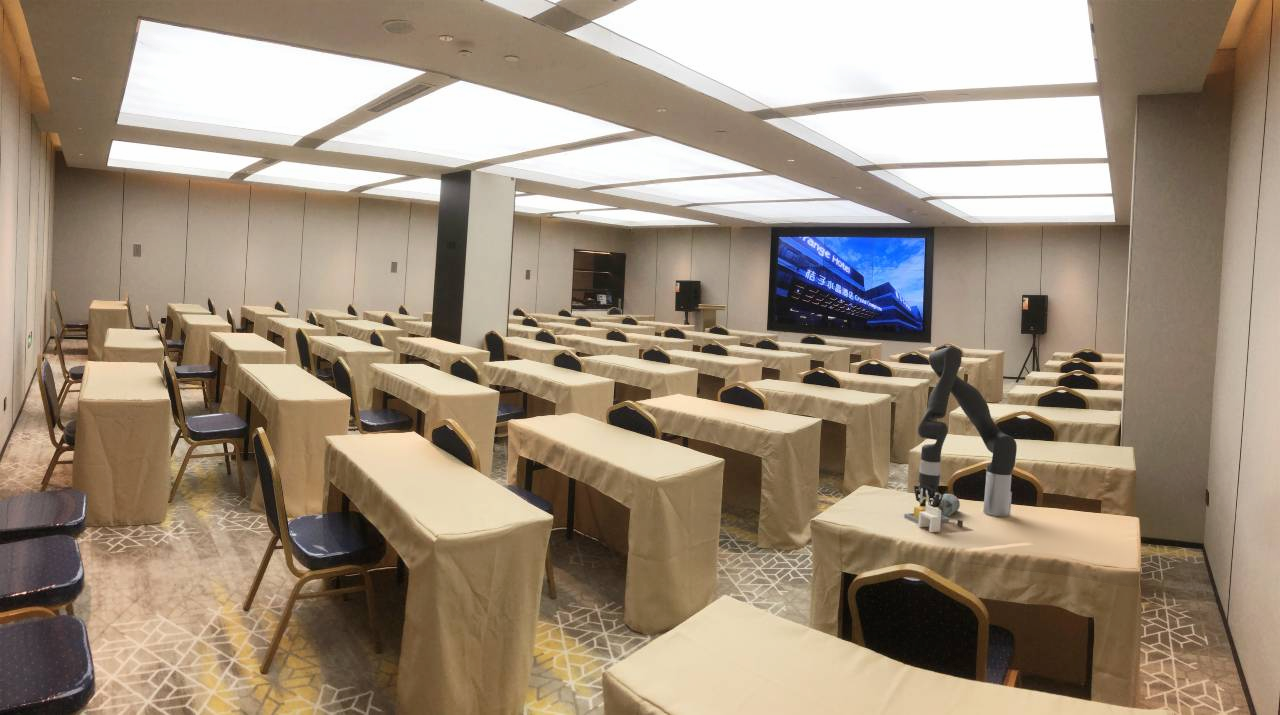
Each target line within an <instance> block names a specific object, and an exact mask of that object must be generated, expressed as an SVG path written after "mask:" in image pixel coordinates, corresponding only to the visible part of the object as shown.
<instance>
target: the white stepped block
mask: <svg viewBox="0 0 1280 715" xmlns="http://www.w3.org/2000/svg"><path fill="white" fill-rule="evenodd" d="M929 519H930V526H929ZM940 521H941V510H939V509H937V508H934V507H932V506H930V505H928V504H926V508H925V511H924V512H919V522H918V523H917V525H918V526H917V527H918V528H921V527H928V526H929V531H928V532H929V533H932V532H939V531H940Z"/></svg>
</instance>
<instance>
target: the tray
mask: <svg viewBox="0 0 1280 715" xmlns="http://www.w3.org/2000/svg"><path fill="white" fill-rule="evenodd" d="M903 517H904V518H905V519H907V520H909V521H911V522H914V523H916V524H918V522H919V519H917V518H915V517H914V512H910V513H904V515H903ZM947 522H950V518H949V517H946V516H942V515H941V521H940V523H947ZM929 524H930V519H929Z"/></svg>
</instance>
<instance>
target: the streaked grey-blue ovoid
mask: <svg viewBox="0 0 1280 715" xmlns="http://www.w3.org/2000/svg"><path fill="white" fill-rule="evenodd" d="M960 506H961V502H960V500H959V498H958V497H957V496H956V495H954V494H952V493H944V494H943V498H942V500H941V503H940V505H939V507H938V508H939V510H941V515H942V516H945V517H947V518H949V517H951V516H952V515H953V514H954V513H956V512H958V510H959V509H960Z"/></svg>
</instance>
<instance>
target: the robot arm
mask: <svg viewBox="0 0 1280 715" xmlns="http://www.w3.org/2000/svg"><path fill="white" fill-rule="evenodd" d="M928 363H929V365H930V367H931V369H932V370H933V372H934V373H935V374H936V376H938V379H939V380H938V381H937V383H936V384H935V386H934V387H933V388H932V390H931V392H930V395H929V397H928V403H927V407H926V412H925V413H924V415H923V417H922V419H921V420H920V422H919V425H918V426H917V434H918V436H919V437H920V438H922V439H927V440H936V441H935V443H931V444H928V443H927V444H924V445H923V446H922V447H921V453H920V454H921V456H920V463H919V469H918V470H919V472H918V483H919V485H914V486H913V488H914V490H913V491H914V495H915V500H916V501H917V502H918V503H919V506H926V505H930V506H932V507H934V508H935V507H939V505H940V503H941V500H942V498H943V495H944V494H942V493H940V492H938V491H939V490H938V486H939V485H940V482H941V457H942V450H943V447H944V443H945V440H946V438H947V435H948V432H949V429H948V428H949V427H948V425H947V424H946V423H945V422H943V421H934V420H939V419H943V418H945V417H946V414H947V411H948V410H947V409H948V403H949V400H950V394H951V395H952V396H953V397H954V399H955V401H956V402H957V404H958V406H960V408H961V410H962V411H963V413H964V414H965V415H966V417H967V418H968V420H969V421H970V422H971V423H972V425H973V426H974V427H975V429H976V430H977V432H978V434H979V435H980V437H981V439H982V441H983V443H984V446H985V447H986V448H987V451H989V452H990V453H992V459H991V461H990V463H988V464H987V465H986V472H985V473H986V474H985V486H984V499H983V509H982V510H983V513H984V514H986V515H989V516H993V517H1001V518H1004V517H1008V516H1010V515H1011V510H1012V496H1013V492H1012V491H1011V486H1012V474H1013V469H1014V468H1015V465H1016V458H1017V449H1018V448H1017V447H1018V445H1017V441H1016V440H1015V439H1014V437H1012V436H1010V435H1008V434H1005V433H1004V432H1002V431H1001V429H1000V428H999V427H998V426H997V424H996V423H995V421H994V420H993V417H992V416H991V410H990V409H989V406H988V403H987V401H986V399H985V398H984V396H983V394H981V391H979V390H978V389H977V388H976V386H975V387H974V386H973V385H972V384H971V383H969V382H967V381H966V380H964V379H962V378H960V377H959V376H958V373H959V370H960V367H961V364H962V353H961V352H960V351H959V349H958V348H957V347H955V346H947V347H944V348H940V349H937V350H934V351H932V352H931V353H929V355H928Z"/></svg>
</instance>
